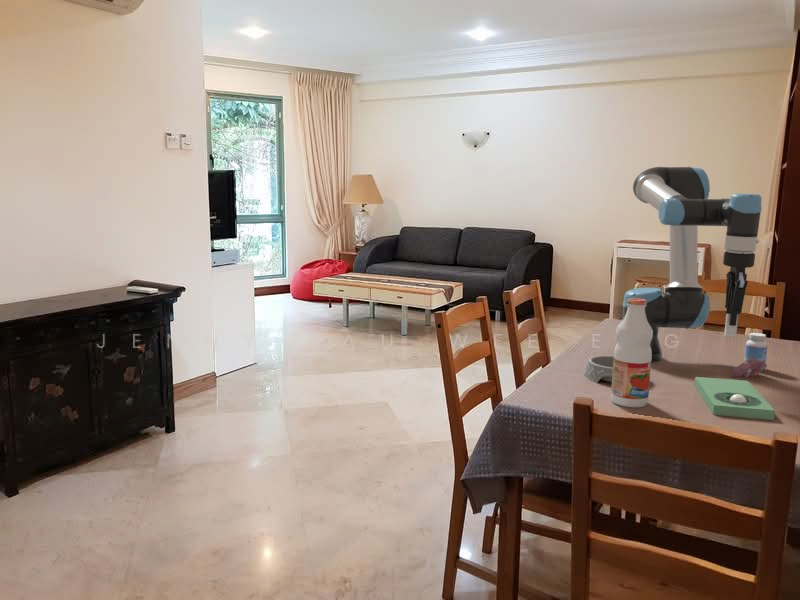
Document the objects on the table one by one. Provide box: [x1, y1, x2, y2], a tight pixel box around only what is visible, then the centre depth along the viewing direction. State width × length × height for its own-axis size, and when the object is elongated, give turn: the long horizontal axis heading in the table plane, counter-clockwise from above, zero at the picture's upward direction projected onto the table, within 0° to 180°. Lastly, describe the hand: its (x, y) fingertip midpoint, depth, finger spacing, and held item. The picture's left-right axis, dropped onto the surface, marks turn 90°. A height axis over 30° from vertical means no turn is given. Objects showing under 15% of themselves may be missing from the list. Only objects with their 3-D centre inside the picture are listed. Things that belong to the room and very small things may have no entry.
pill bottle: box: [743, 332, 768, 365], centre depth 210 cm, size 6×6×11 cm
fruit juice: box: [610, 298, 653, 408], centre depth 173 cm, size 9×9×28 cm
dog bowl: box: [583, 355, 614, 384], centre depth 198 cm, size 17×18×5 cm
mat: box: [693, 376, 776, 421], centre depth 178 cm, size 26×14×2 cm, turn 166°
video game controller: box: [729, 359, 767, 379], centre depth 201 cm, size 10×5×7 cm, turn 114°
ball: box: [730, 394, 747, 403], centre depth 171 cm, size 4×4×4 cm
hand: (729, 335), depth 182 cm, fingers closed
